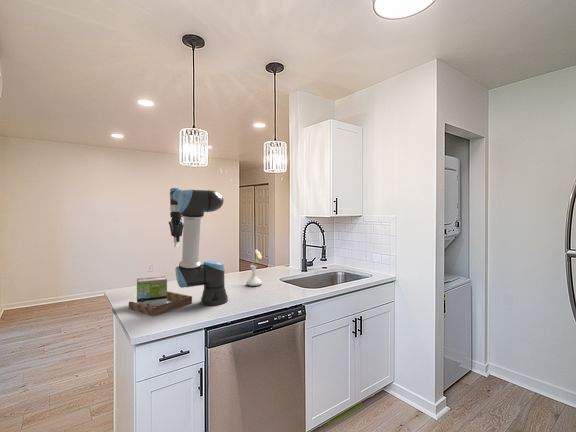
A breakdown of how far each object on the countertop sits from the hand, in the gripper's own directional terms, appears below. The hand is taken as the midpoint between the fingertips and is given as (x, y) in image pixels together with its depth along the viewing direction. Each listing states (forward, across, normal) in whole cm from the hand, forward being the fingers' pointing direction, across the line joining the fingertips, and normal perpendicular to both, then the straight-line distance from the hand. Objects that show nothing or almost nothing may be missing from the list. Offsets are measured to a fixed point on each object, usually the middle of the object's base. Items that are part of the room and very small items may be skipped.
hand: (176, 246), depth 199 cm
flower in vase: (+29, -38, -35) cm, 59 cm away
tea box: (+29, -13, +28) cm, 43 cm away
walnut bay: (+29, -20, +28) cm, 45 cm away
